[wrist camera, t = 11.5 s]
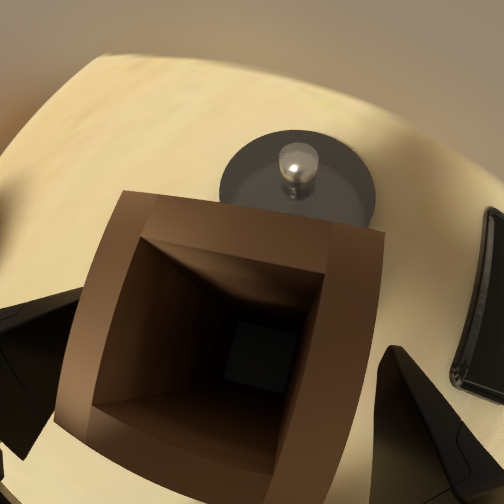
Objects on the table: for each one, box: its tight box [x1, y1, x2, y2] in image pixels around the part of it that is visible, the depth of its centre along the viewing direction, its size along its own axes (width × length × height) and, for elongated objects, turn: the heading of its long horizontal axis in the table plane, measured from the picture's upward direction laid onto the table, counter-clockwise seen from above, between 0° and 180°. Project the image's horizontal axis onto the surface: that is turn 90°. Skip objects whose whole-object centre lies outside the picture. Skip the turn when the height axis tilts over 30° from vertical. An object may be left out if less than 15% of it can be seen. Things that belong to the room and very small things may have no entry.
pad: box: [223, 321, 298, 393], centre depth 16 cm, size 10×10×1 cm
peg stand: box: [219, 130, 375, 228], centre depth 18 cm, size 11×11×4 cm
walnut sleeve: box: [54, 190, 385, 504], centre depth 10 cm, size 6×6×12 cm
